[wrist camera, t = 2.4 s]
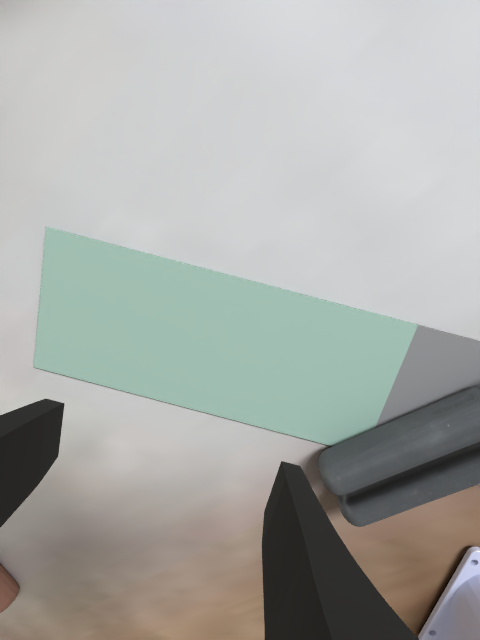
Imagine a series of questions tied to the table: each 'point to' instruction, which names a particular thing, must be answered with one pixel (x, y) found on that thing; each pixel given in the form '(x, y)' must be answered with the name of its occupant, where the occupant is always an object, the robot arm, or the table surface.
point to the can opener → (406, 460)
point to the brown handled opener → (7, 589)
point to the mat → (236, 344)
